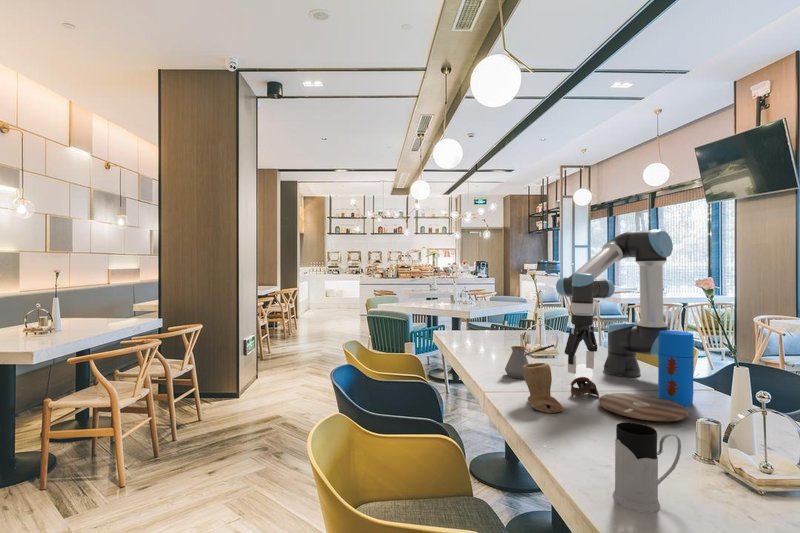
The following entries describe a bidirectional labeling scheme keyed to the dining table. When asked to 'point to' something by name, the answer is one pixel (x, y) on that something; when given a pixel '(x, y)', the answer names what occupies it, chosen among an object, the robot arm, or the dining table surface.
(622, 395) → the disc
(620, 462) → the glass holder
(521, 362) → the coffee pot
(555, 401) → the brown boot vase
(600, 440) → the dining table surface
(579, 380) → the pottery mug
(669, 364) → the thermos
